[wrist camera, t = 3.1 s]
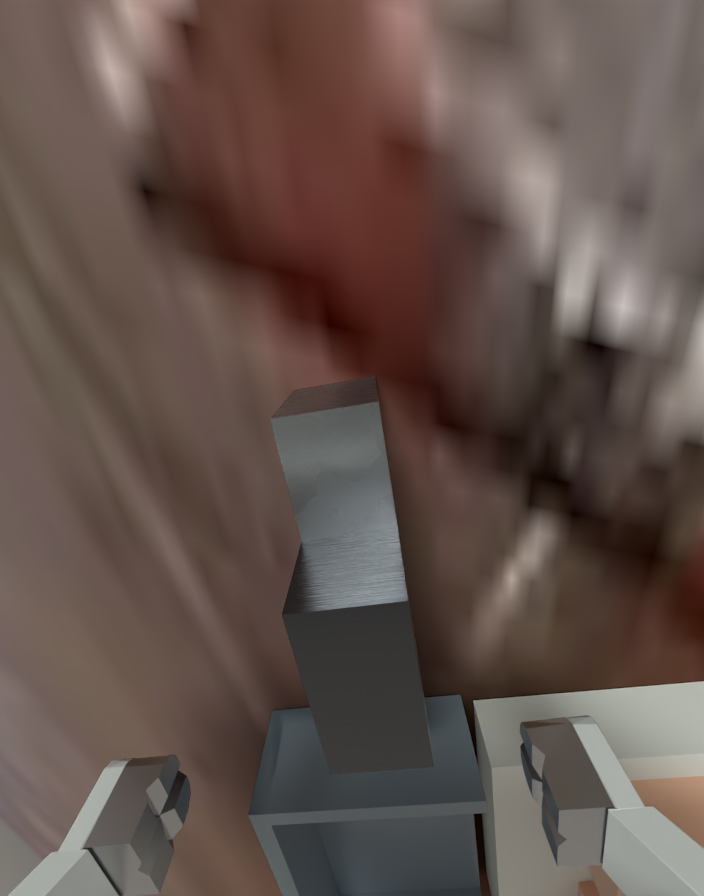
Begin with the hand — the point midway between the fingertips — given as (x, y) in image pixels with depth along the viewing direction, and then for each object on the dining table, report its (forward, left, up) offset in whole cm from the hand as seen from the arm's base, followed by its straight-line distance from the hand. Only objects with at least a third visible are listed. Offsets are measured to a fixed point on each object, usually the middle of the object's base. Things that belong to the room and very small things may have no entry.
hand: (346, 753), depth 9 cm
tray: (+1, +18, -8) cm, 19 cm away
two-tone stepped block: (-1, 0, -8) cm, 8 cm away
